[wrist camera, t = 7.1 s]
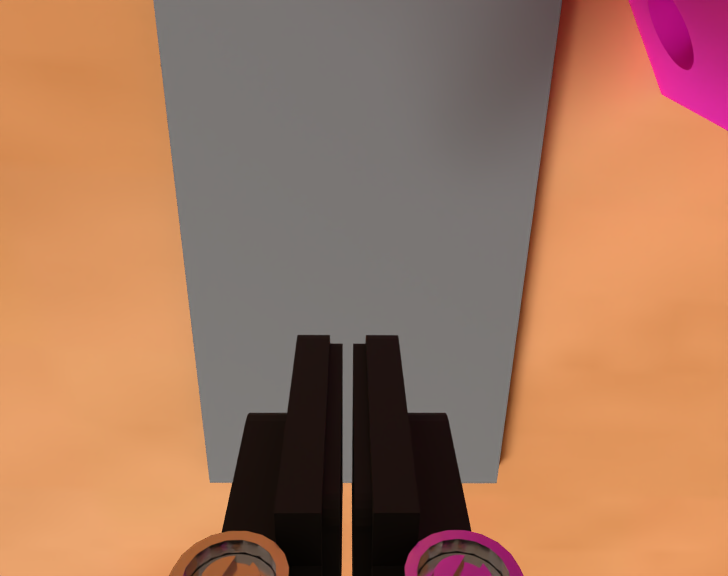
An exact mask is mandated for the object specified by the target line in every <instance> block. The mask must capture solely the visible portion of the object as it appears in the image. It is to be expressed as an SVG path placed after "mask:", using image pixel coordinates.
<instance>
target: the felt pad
mask: <svg viewBox="0 0 728 576" xmlns="http://www.w3.org/2000/svg"><path fill="white" fill-rule="evenodd" d="M561 5H562V0H154V9H155V17H156V26H157V35H158V43H159V52H160V60H161V69H162V77H163V86H164V94H165V103H166V111H167V120H168V129H169V137H170V146H171V154H172V163H173V171H174V180H175V188H176V197H177V205H178V214H179V223H180V231H181V240H182V248H183V257H184V265H185V274H186V282H187V291H188V300H189V308H190V317H191V325H192V334H193V342H194V351H195V359H196V368H197V376H198V385H199V394H200V402H201V411H202V419H203V428H204V436H205V445H206V453H207V462H208V470H209V479H210V483H232V482H233V478H234V473H235V468H236V464H237V459H238V454H239V450H240V445H241V440H242V436H243V431H244V426H245V422H246V418H247V415H248V414H249V413H287V410H288V402H289V395H290V387H291V379H292V372H293V364H294V356H295V349H296V341H297V335H330V343H333V344H343V483H352V409H353V344H365V341H366V335H398V337H399V345H400V353H401V361H402V369H403V378H404V386H405V394H406V402H407V410H408V413H446V414H447V416H448V420H449V424H450V429H451V434H452V439H453V444H454V449H455V454H456V459H457V464H458V469H459V473H460V478H461V483H497V476H498V468H499V461H500V454H501V446H502V439H503V432H504V424H505V417H506V410H507V402H508V395H509V387H510V380H511V373H512V365H513V358H514V351H515V343H516V336H517V329H518V321H519V314H520V307H521V299H522V292H523V284H524V277H525V270H526V262H527V255H528V248H529V240H530V233H531V226H532V218H533V211H534V203H535V196H536V189H537V181H538V174H539V167H540V159H541V152H542V145H543V137H544V130H545V122H546V115H547V108H548V100H549V93H550V86H551V78H552V71H553V64H554V56H555V49H556V41H557V34H558V27H559V19H560V12H561Z"/></svg>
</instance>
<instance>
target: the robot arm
mask: <svg viewBox="0 0 728 576" xmlns="http://www.w3.org/2000/svg"><path fill="white" fill-rule="evenodd" d="M342 493H343V344H333V343H330V335H297V341H296V349H295V356H294V364H293V372H292V379H291V387H290V395H289V402H288V410H287V413H249V414H248V415H247V418H246V422H245V426H244V431H243V436H242V440H241V445H240V450H239V454H238V459H237V464H236V468H235V473H234V478H233V482H232V487H231V492H230V496H229V501H228V506H227V510H226V515H225V520H224V524H223V529H222V533H219V534H215V535H211V536H209V537H207V538H205V539H203V540H201V541H199V542H197V543H195V544H194V545H193V546H192V547H191V548H189V549H188V550H187V551H186V552H185V553H184V554H182V555H181V557H180V558H179V560H178V561H177V563H176V564H175V566H174V567H173V569H172V571H171V573H170V575H169V576H341V572H342ZM352 576H523V574H522V572H521V569H520V567H519V566H518V564H517V563H516V561H515V560H514V558H513V557H512V555H511V554H510V553H509V552H508V551H507V550H506V549H505V548H504V547H502V546H501V545H500V544H499V543H498V542H496V541H494V540H492V539H490V538H488V537H486V536H484V535H482V534H478V533H474V532H471V527H470V522H469V518H468V513H467V508H466V503H465V498H464V493H463V488H462V483H461V478H460V473H459V469H458V464H457V459H456V454H455V449H454V444H453V439H452V434H451V429H450V424H449V420H448V416H447V414H446V413H408V410H407V402H406V394H405V386H404V378H403V369H402V361H401V353H400V345H399V337H398V335H366V341H365V344H353V409H352Z"/></svg>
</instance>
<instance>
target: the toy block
mask: <svg viewBox="0 0 728 576" xmlns="http://www.w3.org/2000/svg"><path fill="white" fill-rule="evenodd" d="M629 3H630V6H631V9H632V11H633V14H634V17H635V20H636V23H637V26H638V28H639V31H640V34H641V37H642V40H643V43H644V45H645V48H646V51H647V54H648V57H649V60H650V62H651V65H652V68H653V71H654V74H655V77H656V79H657V82H658V85H659V88H660V91H661V94H662V95H664V96H666V97H668V98H669V99H671V100H673V101H675V102H677V103H678V104H680V105H682V106H684V107H686V108H688V109H689V110H691V111H693V112H695V113H697V114H699V115H700V116H702V117H704V118H706V119H708V120H709V121H711V122H713V123H715V124H717V125H719V126H720V127H722V128H724V129H726V130H728V0H629Z"/></svg>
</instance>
